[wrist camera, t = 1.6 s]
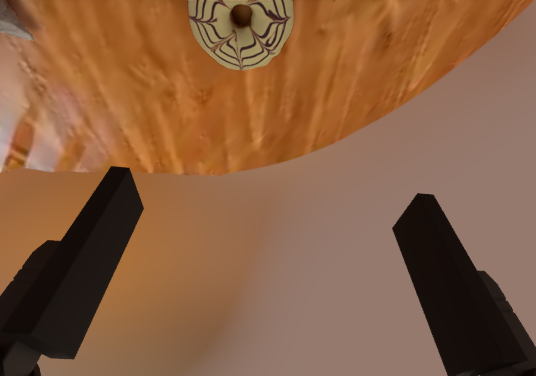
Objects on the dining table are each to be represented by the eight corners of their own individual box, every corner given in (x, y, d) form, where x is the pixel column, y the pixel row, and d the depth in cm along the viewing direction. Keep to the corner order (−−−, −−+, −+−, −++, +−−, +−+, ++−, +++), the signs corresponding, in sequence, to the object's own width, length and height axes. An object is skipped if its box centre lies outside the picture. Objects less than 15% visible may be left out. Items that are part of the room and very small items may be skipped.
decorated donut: (310, 13, 29) (315, 26, 27) (242, 75, 35) (241, 91, 32) (243, -88, 23) (242, -82, 21) (172, 6, 28) (166, 20, 26)
